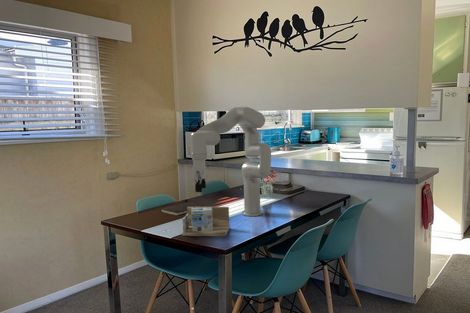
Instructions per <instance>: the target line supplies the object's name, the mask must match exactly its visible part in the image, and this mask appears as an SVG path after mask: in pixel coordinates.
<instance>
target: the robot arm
mask: <svg viewBox="0 0 470 313" xmlns="http://www.w3.org/2000/svg"><path fill="white" fill-rule="evenodd" d="M265 124H266V118H265V116H264V114H263V113H261V112H260V111H258V110H255V109H253V108H251V107H248V106H238V107H237V106H236V107H233V108H231V109H229V110H228V111H227V112H226V113H225V114H223V115H222V116H221V117H220V118H218V119H216V120H213V121H211V122H209V123H208V122H207V123H206V124H204V125H203V126H201V127H200V128H199V129H198V130H196V131H194V132H192V133H191V135H190V142H191V143H190V145H191V146H190V149H191V160H192V161H193V162H192V179H193V180H194V183H195V184H194V185H195V186H194V187H195V193H202V192H203V189H206V188H207V187H206V186H207V184H206V175H207V173H206V172H207V171H206V160H208V155H207V151H208V149H207V146H216V145H218V144H219V143H220V142H221V136H220V135H221V134H225V133H228V132H230V131H231V130H232V129H233V128H234V127H236V126H237V125H238V126H239V127H240V128H241V129H242V131H243V132H244V155H245V157H246V158H247V159H251V160H252V161H251V160H248V161H245V162H244V163H243V164H242V165H241V174H242V178H243V179H242V180H243V197H244V198H243V200H244V201H243V203H244V204H243V207H244V210H243V211H242V212H241V215H242V216H246V217H258V216H262V215H263V214H264V211H263V210H261V186H260V185H261V183H260V181H259V179H267V178H268V177H269V176H270V174H271V169H272V149H271V146H270V145H269V144H267V143H264V142H260V141H261V140H260V132H259V130H258V129H260V128H263V127H264V125H265ZM253 160H254V161H253ZM256 160H259V161H256Z"/></svg>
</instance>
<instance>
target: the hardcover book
mask: <svg viewBox="0 0 470 313" xmlns="http://www.w3.org/2000/svg"><path fill="white" fill-rule="evenodd" d="M187 207H206V205H203V204H200V203H193V202H185V203H181V204H177V205H176V204H175V205H173V206H168V207H165V208H164V207H163V208H161V209H160V212H162V213H165V214H169V215H174V216H180V215H183V214H188V211H187Z"/></svg>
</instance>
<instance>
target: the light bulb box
mask: <svg viewBox="0 0 470 313" xmlns="http://www.w3.org/2000/svg"><path fill="white" fill-rule="evenodd" d="M204 207H205V208H192V231H193V232H195V231H212V230H213V219H212V208H211V207H212V206H204Z"/></svg>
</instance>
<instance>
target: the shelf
mask: <svg viewBox="0 0 470 313" xmlns="http://www.w3.org/2000/svg"><path fill="white" fill-rule="evenodd" d="M205 207H206V206H204V207H187V211H188V213H185V214H186V215H185V216H183V218H182V233H181V235H182V237H226V236H227V234H228V232H229V230H230V207H229V206H210V207H211V208H212V219H213V230H212V231H195V232H193V231H192V208H205Z"/></svg>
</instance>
